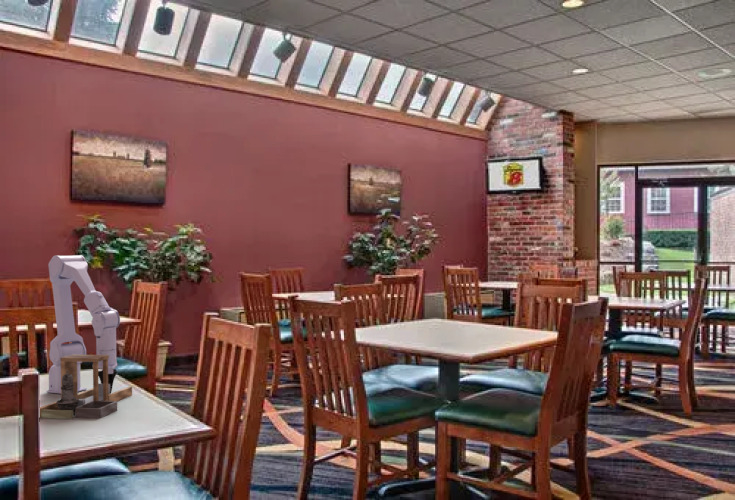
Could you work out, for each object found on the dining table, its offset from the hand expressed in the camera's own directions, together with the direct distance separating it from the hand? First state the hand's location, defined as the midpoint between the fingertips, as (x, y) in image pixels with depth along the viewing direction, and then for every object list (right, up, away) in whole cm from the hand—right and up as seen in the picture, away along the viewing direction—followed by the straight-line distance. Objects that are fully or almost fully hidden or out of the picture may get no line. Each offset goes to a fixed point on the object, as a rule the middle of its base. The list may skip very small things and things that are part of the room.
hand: (107, 393), depth 203 cm
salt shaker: (-3, -2, -19) cm, 20 cm away
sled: (-2, -1, -9) cm, 10 cm away
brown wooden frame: (+1, -1, -10) cm, 11 cm away
